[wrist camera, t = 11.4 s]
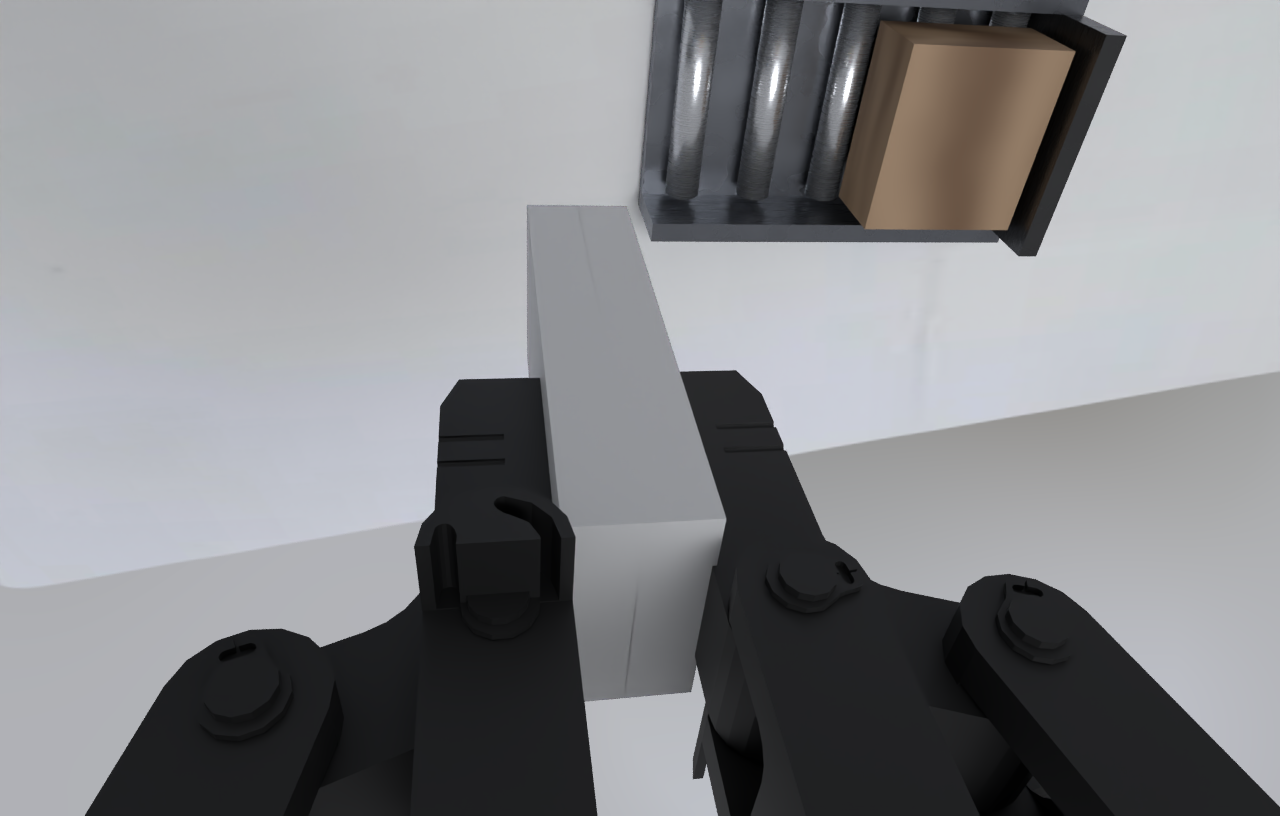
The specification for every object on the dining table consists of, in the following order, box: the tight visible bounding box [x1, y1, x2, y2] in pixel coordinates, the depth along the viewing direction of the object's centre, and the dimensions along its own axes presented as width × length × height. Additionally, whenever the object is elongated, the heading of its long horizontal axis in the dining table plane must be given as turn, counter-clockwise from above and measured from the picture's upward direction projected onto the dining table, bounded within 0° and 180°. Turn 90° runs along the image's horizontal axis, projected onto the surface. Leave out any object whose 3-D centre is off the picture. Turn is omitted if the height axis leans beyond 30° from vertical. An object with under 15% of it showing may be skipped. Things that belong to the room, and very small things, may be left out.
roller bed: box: [638, 0, 1127, 256], centre depth 42 cm, size 20×13×8 cm, turn 86°
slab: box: [839, 20, 1076, 230], centre depth 42 cm, size 8×9×4 cm
